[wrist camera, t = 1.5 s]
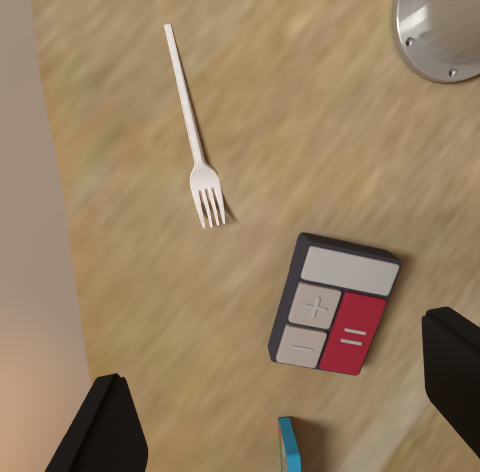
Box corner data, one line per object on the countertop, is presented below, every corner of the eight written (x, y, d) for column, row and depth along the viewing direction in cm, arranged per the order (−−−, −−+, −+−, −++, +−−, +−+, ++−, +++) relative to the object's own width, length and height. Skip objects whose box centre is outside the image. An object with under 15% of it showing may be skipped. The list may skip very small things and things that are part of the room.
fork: (184, 22, 32) (182, 14, 30) (228, 220, 36) (229, 223, 35) (151, 29, 32) (147, 21, 30) (200, 226, 36) (199, 230, 35)
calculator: (270, 366, 37) (308, 242, 33) (265, 343, 41) (299, 230, 37) (361, 381, 38) (408, 263, 34) (347, 357, 43) (388, 250, 39)
